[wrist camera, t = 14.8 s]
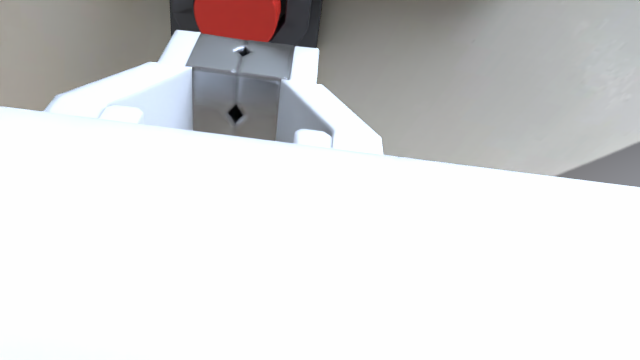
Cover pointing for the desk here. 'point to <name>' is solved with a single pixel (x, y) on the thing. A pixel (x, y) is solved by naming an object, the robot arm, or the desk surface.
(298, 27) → the igniter
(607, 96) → the desk surface
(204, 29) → the button
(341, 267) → the robot arm
